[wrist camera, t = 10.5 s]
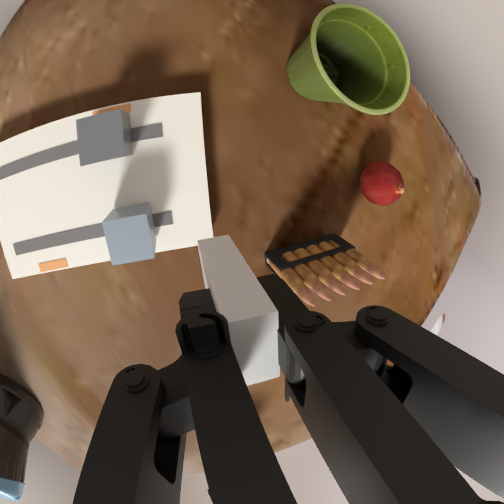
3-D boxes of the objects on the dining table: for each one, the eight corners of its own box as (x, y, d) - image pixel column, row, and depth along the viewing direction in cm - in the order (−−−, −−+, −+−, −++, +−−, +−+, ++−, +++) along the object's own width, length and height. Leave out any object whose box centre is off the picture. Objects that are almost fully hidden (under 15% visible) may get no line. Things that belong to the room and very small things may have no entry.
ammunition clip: (266, 265, 36) (307, 316, 26) (264, 253, 36) (306, 301, 25) (335, 245, 38) (390, 282, 28) (335, 233, 38) (392, 268, 27)
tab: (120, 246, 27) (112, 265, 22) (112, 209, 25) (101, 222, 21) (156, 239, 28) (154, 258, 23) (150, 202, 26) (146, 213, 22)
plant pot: (267, 26, 25) (311, -13, 15) (349, 48, 28) (407, 29, 18) (263, 112, 29) (310, 99, 19) (348, 125, 32) (410, 126, 22)
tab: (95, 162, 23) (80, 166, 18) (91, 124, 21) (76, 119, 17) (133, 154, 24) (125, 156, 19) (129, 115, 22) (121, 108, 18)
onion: (370, 151, 35) (411, 157, 27) (383, 185, 37) (422, 196, 30) (341, 172, 34) (381, 182, 27) (357, 206, 37) (395, 222, 30)
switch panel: (22, 268, 26) (12, 279, 24) (-3, 148, 20) (-16, 150, 17) (209, 234, 32) (213, 243, 30) (197, 97, 26) (200, 92, 23)
